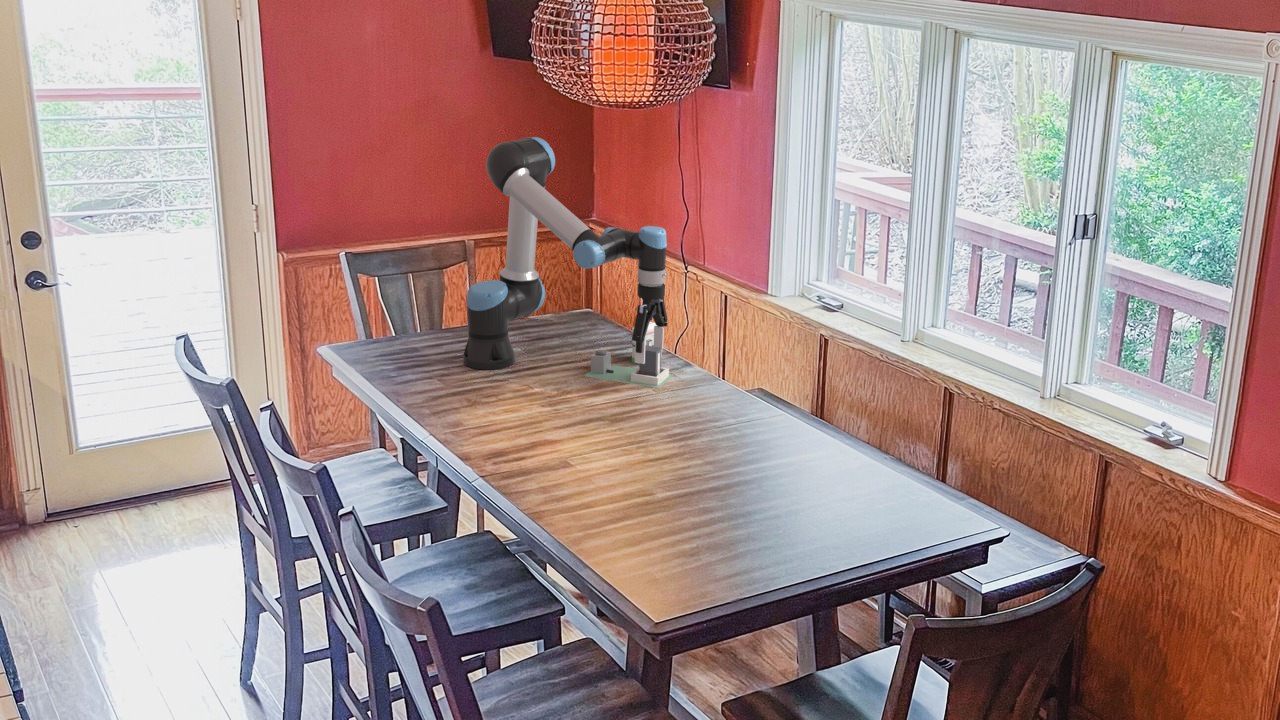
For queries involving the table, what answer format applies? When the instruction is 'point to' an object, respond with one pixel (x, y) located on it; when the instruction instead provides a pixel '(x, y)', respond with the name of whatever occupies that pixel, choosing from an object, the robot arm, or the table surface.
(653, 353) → the plug
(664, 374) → the white square frame
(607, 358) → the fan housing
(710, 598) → the table surface
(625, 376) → the board
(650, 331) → the ink box
